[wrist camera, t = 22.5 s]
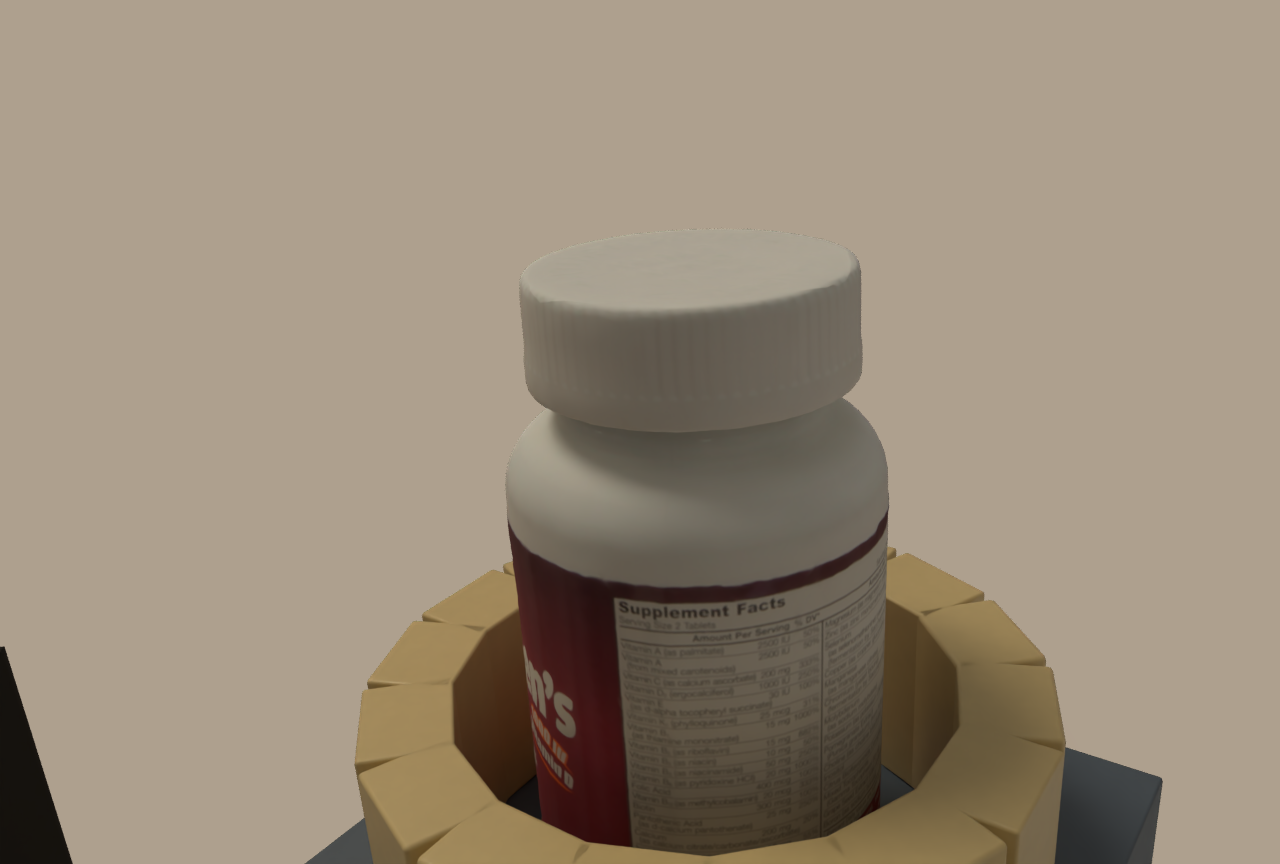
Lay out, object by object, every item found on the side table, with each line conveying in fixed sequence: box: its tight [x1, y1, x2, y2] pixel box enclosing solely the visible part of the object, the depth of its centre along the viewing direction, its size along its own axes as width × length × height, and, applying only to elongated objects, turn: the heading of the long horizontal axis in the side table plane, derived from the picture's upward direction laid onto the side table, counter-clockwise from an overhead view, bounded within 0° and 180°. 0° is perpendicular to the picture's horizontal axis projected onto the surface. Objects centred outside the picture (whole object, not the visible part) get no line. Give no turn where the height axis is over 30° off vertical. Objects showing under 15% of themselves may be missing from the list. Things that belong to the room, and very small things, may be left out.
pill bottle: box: [506, 229, 889, 856], centre depth 19 cm, size 6×6×11 cm
